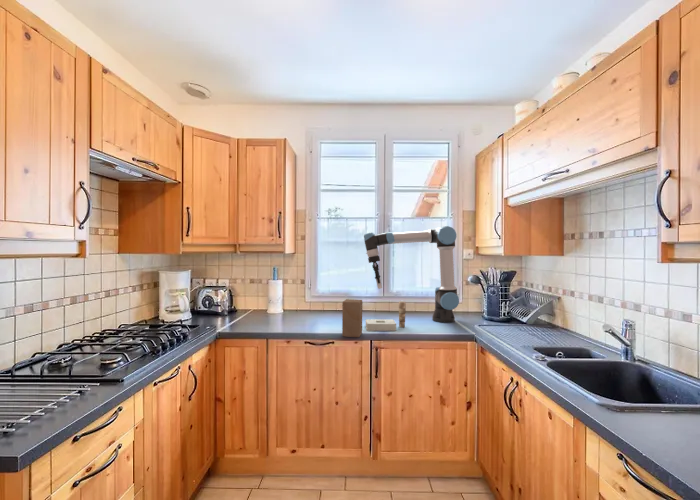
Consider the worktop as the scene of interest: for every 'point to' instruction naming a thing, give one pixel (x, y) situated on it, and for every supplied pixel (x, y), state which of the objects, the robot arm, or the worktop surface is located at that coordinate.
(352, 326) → the wooden block
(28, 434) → the worktop surface
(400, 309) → the beech leg
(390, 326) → the socket block
